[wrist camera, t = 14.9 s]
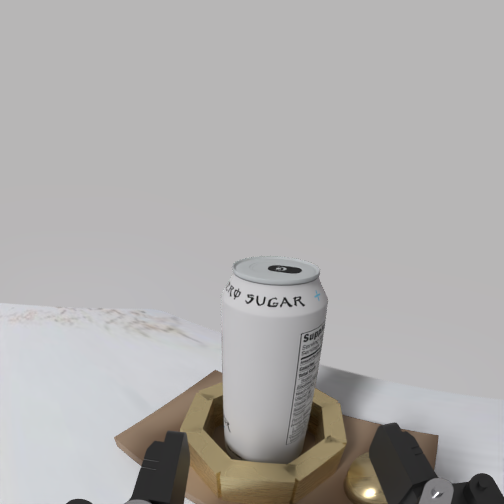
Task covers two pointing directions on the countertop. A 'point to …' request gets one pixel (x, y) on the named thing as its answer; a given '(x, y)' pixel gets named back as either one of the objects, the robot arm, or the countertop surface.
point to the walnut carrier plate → (171, 418)
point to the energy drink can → (270, 356)
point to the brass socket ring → (270, 474)
